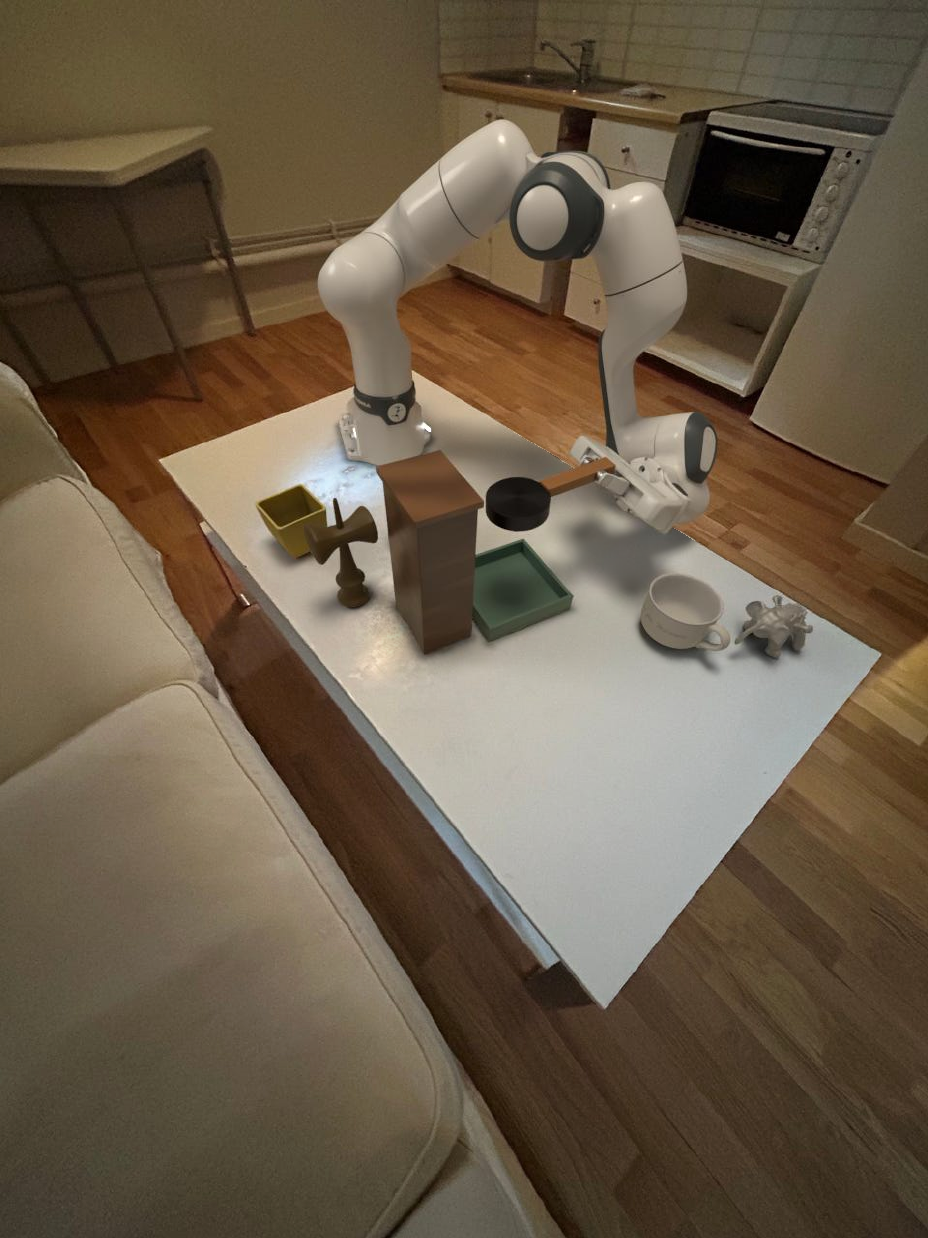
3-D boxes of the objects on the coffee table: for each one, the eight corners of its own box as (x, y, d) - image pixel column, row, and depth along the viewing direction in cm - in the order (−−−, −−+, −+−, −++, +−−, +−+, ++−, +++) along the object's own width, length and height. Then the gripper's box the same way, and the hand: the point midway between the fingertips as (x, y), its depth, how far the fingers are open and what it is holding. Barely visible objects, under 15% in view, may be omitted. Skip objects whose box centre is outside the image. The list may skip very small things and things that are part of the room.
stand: (391, 604, 87) (375, 466, 68) (441, 586, 90) (440, 449, 70) (422, 658, 81) (414, 522, 61) (475, 637, 83) (484, 500, 64)
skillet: (474, 502, 78) (474, 486, 76) (589, 461, 83) (592, 445, 81) (505, 539, 73) (506, 524, 71) (626, 493, 78) (630, 477, 76)
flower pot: (290, 570, 92) (278, 529, 85) (267, 543, 96) (253, 502, 89) (335, 548, 96) (327, 507, 89) (311, 523, 100) (301, 482, 93)
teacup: (622, 615, 87) (635, 580, 81) (678, 598, 90) (695, 563, 84) (672, 683, 79) (691, 650, 73) (733, 662, 82) (756, 629, 75)
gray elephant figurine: (807, 642, 84) (833, 610, 79) (770, 685, 79) (796, 654, 73) (752, 609, 89) (773, 576, 83) (713, 647, 83) (733, 615, 77)
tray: (445, 578, 92) (445, 564, 89) (521, 551, 96) (523, 538, 94) (488, 641, 83) (489, 628, 81) (570, 608, 88) (573, 595, 85)
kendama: (319, 597, 88) (292, 497, 73) (372, 575, 92) (357, 475, 76) (334, 621, 85) (309, 522, 70) (389, 598, 88) (376, 498, 73)
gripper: (615, 437, 91) (562, 414, 82) (700, 506, 80) (651, 488, 71) (593, 469, 94) (540, 451, 85) (672, 540, 83) (621, 528, 74)
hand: (591, 469), depth 78 cm, fingers closed
